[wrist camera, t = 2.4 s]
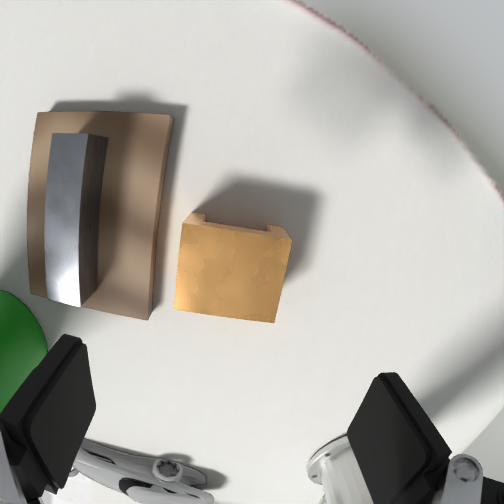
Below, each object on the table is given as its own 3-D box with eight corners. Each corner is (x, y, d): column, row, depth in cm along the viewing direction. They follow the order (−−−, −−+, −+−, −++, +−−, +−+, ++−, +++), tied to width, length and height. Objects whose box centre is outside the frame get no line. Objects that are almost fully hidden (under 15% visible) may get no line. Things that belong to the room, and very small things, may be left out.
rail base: (151, 312, 25) (147, 320, 23) (38, 287, 24) (30, 293, 22) (174, 118, 21) (170, 115, 19) (46, 114, 20) (37, 112, 18)
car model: (48, 415, 29) (34, 439, 24) (222, 467, 32) (222, 497, 27) (58, 456, 31) (48, 477, 27) (206, 499, 35) (205, 524, 30)
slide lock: (267, 296, 25) (274, 323, 21) (183, 284, 24) (173, 309, 20) (281, 226, 24) (292, 240, 19) (191, 212, 23) (182, 222, 19)
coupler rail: (97, 289, 22) (80, 307, 19) (67, 282, 22) (47, 298, 19) (108, 137, 19) (88, 133, 16) (75, 136, 19) (52, 132, 16)
